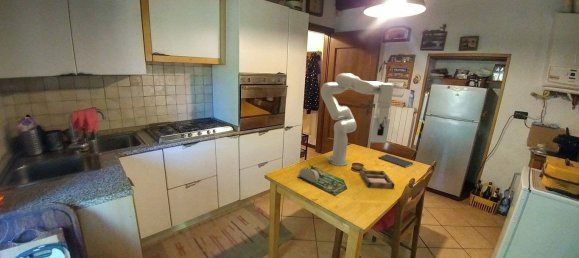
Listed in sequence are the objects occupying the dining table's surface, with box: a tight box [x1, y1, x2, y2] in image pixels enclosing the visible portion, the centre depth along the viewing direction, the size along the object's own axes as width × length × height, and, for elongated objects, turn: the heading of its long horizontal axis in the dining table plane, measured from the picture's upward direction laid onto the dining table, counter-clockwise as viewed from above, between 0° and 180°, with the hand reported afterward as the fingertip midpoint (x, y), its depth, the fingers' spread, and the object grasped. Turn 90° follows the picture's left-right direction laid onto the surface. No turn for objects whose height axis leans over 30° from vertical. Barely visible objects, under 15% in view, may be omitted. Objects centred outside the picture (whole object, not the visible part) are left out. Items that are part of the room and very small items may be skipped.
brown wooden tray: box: [359, 169, 396, 189], centre depth 147 cm, size 15×18×4 cm
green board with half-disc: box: [296, 163, 348, 197], centre depth 146 cm, size 33×8×20 cm
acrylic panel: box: [369, 116, 391, 144], centre depth 144 cm, size 9×3×15 cm, turn 89°
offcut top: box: [368, 178, 387, 183], centre depth 144 cm, size 10×7×2 cm
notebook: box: [377, 153, 414, 169], centre depth 182 cm, size 13×2×21 cm
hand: (379, 134), depth 145 cm, fingers closed on acrylic panel, 3 cm apart
